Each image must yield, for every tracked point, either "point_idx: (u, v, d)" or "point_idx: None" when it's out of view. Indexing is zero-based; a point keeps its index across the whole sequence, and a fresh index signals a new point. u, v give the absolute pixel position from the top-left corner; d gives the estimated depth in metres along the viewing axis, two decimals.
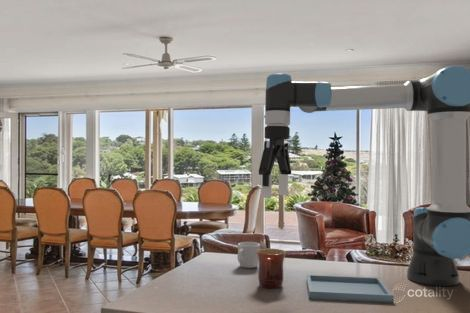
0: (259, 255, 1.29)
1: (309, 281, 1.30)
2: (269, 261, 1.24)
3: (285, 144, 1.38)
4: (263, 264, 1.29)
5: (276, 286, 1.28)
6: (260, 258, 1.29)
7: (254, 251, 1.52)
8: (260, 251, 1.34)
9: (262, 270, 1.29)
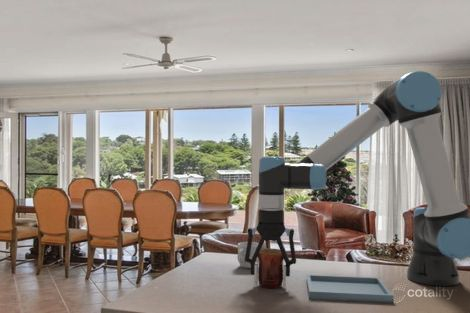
0: (259, 255, 1.29)
1: (309, 281, 1.30)
2: (269, 261, 1.24)
3: (290, 230, 1.29)
4: (263, 264, 1.29)
5: (276, 286, 1.28)
6: (260, 258, 1.29)
7: (254, 251, 1.52)
8: (260, 251, 1.34)
9: (262, 270, 1.29)
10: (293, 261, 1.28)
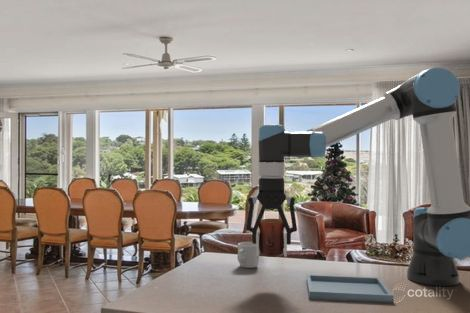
0: (260, 224, 1.30)
1: (309, 281, 1.30)
2: (270, 228, 1.25)
3: (290, 198, 1.29)
4: (264, 232, 1.29)
5: (277, 254, 1.28)
6: (261, 227, 1.29)
7: (254, 251, 1.52)
8: (260, 221, 1.34)
9: (263, 238, 1.29)
10: (294, 229, 1.28)
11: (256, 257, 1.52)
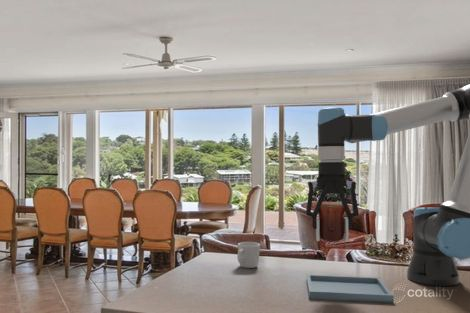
0: (320, 208, 1.28)
1: (309, 281, 1.30)
2: (332, 212, 1.23)
3: (351, 182, 1.27)
4: (324, 217, 1.27)
5: (338, 239, 1.26)
6: (321, 211, 1.28)
7: (254, 251, 1.52)
8: None
9: (323, 223, 1.27)
10: (355, 213, 1.26)
11: (256, 257, 1.52)
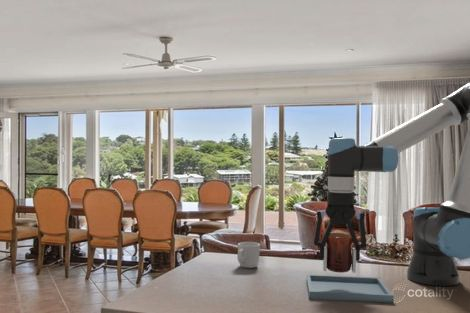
0: (328, 238, 1.27)
1: (309, 281, 1.30)
2: (341, 244, 1.22)
3: (360, 213, 1.26)
4: (332, 247, 1.27)
5: (346, 270, 1.26)
6: (329, 241, 1.27)
7: (254, 251, 1.52)
8: None
9: (331, 254, 1.27)
10: (363, 245, 1.26)
11: (256, 257, 1.52)
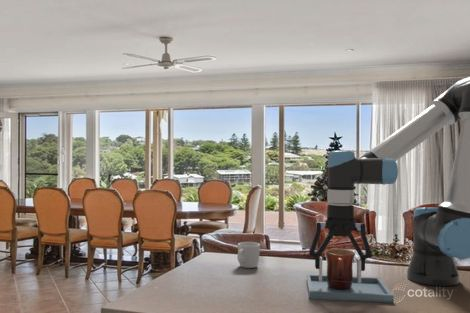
0: (329, 256, 1.27)
1: (309, 281, 1.30)
2: (342, 262, 1.22)
3: (360, 225, 1.26)
4: (333, 265, 1.27)
5: (347, 287, 1.26)
6: (330, 259, 1.27)
7: (254, 251, 1.52)
8: (327, 251, 1.32)
9: (332, 271, 1.27)
10: (369, 255, 1.25)
11: (256, 257, 1.52)
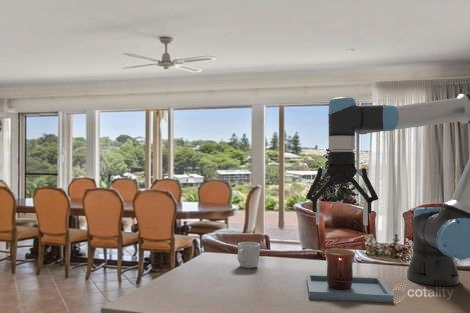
0: (329, 256, 1.27)
1: (309, 281, 1.30)
2: (342, 262, 1.22)
3: (361, 169, 1.27)
4: (333, 265, 1.27)
5: (347, 287, 1.26)
6: (330, 259, 1.27)
7: (254, 251, 1.52)
8: (327, 251, 1.32)
9: (332, 271, 1.27)
10: (375, 198, 1.26)
11: (256, 257, 1.52)
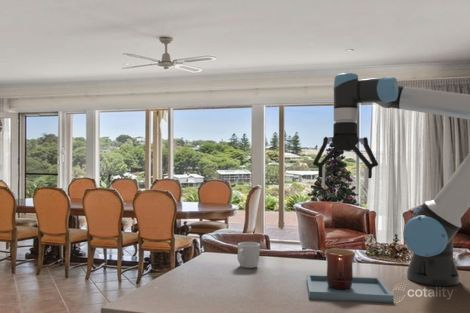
0: (329, 256, 1.27)
1: (309, 281, 1.30)
2: (342, 262, 1.22)
3: (363, 138, 1.41)
4: (333, 265, 1.27)
5: (347, 287, 1.26)
6: (330, 259, 1.27)
7: (254, 251, 1.52)
8: (327, 251, 1.32)
9: (332, 271, 1.27)
10: (375, 164, 1.40)
11: (256, 257, 1.52)
